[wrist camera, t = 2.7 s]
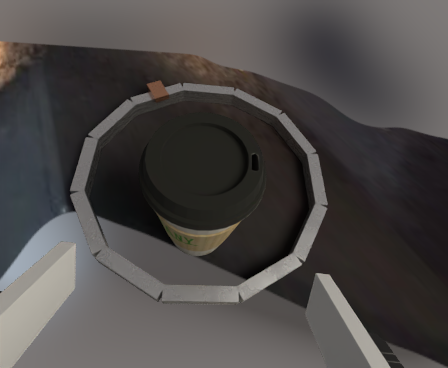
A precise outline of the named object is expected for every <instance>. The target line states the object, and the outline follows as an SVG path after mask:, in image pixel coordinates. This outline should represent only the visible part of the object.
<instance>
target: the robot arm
mask: <svg viewBox="0 0 448 368" xmlns="http://www.w3.org/2000/svg"><path fill="white" fill-rule="evenodd" d="M75 257H76V243H70V242H60V243H59V244H57V245H56V246H55V247H54V248H53V249H52V250H50V251H49V252H48V253H47V254H46V255H45V256H43V257H42V258H41V259H40V260H39V261H38V262H36V263H35V264H34V265H33V266H32V267H31V268H29V269H28V270H27V271H26V272H25V273H23V274H22V275H21V276H20V277H19V278H18V279H17V280H15V281H14V282H13V283H12V284H11V285H9V286H8V287H7V288H6V289H5V290H4V291H3V292H2V291H0V368H12V367H13V366H14V364H15V363H16V362H17V361H18V359H19V358H20V357H21V356H22V354H23V353H24V352H25V351H26V349H27V348H28V347H29V345H30V344H31V343H32V342H33V340H34V339H35V338H36V337H37V335H38V334H39V333H40V332H41V330H42V329H43V328H44V327H45V325H46V324H47V323H48V322H49V320H50V319H51V318H52V316H53V315H54V314H55V313H56V311H57V310H58V309H59V308H60V306H61V305H62V304H63V302H64V301H65V300H66V299H67V297H68V296H69V295H70V294H71V292H72V291H73V290H74V289H75V259H76V258H75ZM305 316H306V318H307V320H308V323H309V325H310V328H311V330H312V333H313V335H314V337H315V340H316V342H317V345H318V347H319V349H320V352H321V354H322V357H323V359H324V361H325V364H326V366H327V368H404V367H403V366H402V364H400V362H399V360H398V359H397V357H396V356H395V355H394V353H393V352H392V350H391V349H390V347H389V346H388V345H387V343H386V342H385V341H384V340H383V339H381V338H380V337H379V336H378V335H377V334H376V333H369V332H367V331H366V330H365V328H364V327H363V325H362V324H361V322H360V320H359V319H358V317H357V316H356V314H355V313H354V311H353V310H352V308H351V307H350V305H349V304H348V302H347V301H346V299H345V298H344V296H343V295H342V293H341V292H340V290H339V289H338V287H337V286H336V284H335V283H334V281H333V280H332V278H331V277H330V275H327V274H319V273H316V275H315V279H314V283H313V286H312V290H311V294H310V298H309V302H308V305H307V309H306V313H305Z"/></svg>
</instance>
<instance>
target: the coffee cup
mask: <svg viewBox="0 0 448 368" xmlns="http://www.w3.org/2000/svg"><path fill="white" fill-rule="evenodd" d="M257 155H258V156H257ZM258 158H259V159H258ZM266 175H267V174H266V166H265V161H264V159H263V156H262V152H261V150H260V147H259V144H258V143H257V141H256V140H255V138H254V136H253V135H252V134H251V133H250V132H249V131H248V130H247V129H246V128H245V127H243V126H242V125H241V124H239V123H238V122H236V121H234V120H232V119H230V118H227V117H225V116H222V115H218V114H213V113H201V112H199V113H189V114H185V115H181V116H178V117H176V118H174V119H171V120H169V121H168V122H166V123H165V124H163V125H162V126H161V127H160V128H159V129H158V130H157V131H156V132H155V133H154V135H153V136H152V138H151V139H150V141H149V143H148V144H147V146H146V147H145V149H144V151H143V154H142V157H141V159H140V166H139V182H140V187H141V190H142V193H143V195H144V197H145V199H146V200H147V202H148V203H149V205H150V207H151V208H152V209H153V210H154V211H155V212H156V213H157V215H158V217H159V219H160V221H161V222H162V224H163V226H164V228H165V230H166V232H167V234H168V235H169V237H170V238H171V239H172V240H173V242H174V244H175V245H176V247H177V248H178V249H179V250H181V251H182V252H184V253H186V254H189V255H193V256H202V255H206V254H208V253H211V252H212V251H214V250H215V249H216V248H217V247H218V246H219V245H220V244H221V243H222V242H223V241H224V240H225V239H226V238H227V237H228V236H229V235H230V233H231V232H232V231H233V230H234V229H235V227H236V226H237V225H238V224H239V223H240V222H241V220H243V219H244V218H246V217H247V216H248V215H249V214H250V213H251V212H252V211H253V210H254V209H255V208H256V207H257V205H258V204H259V202H260V200H261V199H262V196H263V193H264V190H265V186H266Z"/></svg>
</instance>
